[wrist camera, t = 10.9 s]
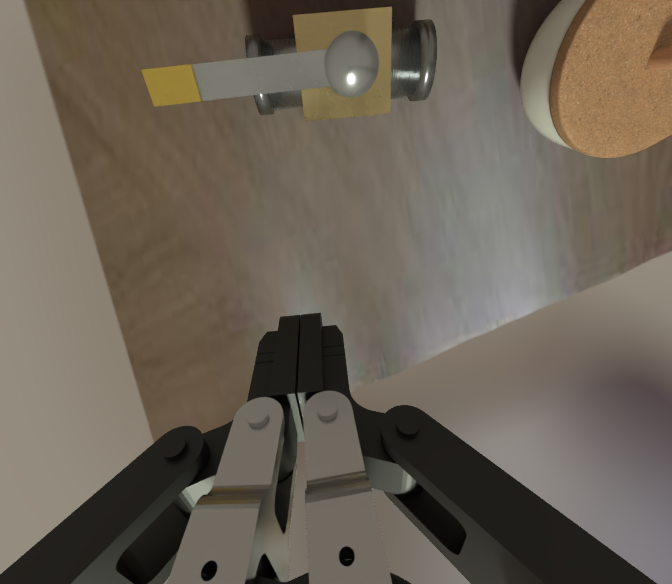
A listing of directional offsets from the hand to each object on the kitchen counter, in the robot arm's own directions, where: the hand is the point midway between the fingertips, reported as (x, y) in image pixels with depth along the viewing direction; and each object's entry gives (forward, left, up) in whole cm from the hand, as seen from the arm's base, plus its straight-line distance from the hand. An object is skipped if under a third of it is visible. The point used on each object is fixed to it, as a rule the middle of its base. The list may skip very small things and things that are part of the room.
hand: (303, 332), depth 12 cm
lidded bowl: (-25, -7, -25) cm, 36 cm away
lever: (+1, -8, -17) cm, 19 cm away
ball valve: (-4, -9, -25) cm, 26 cm away
